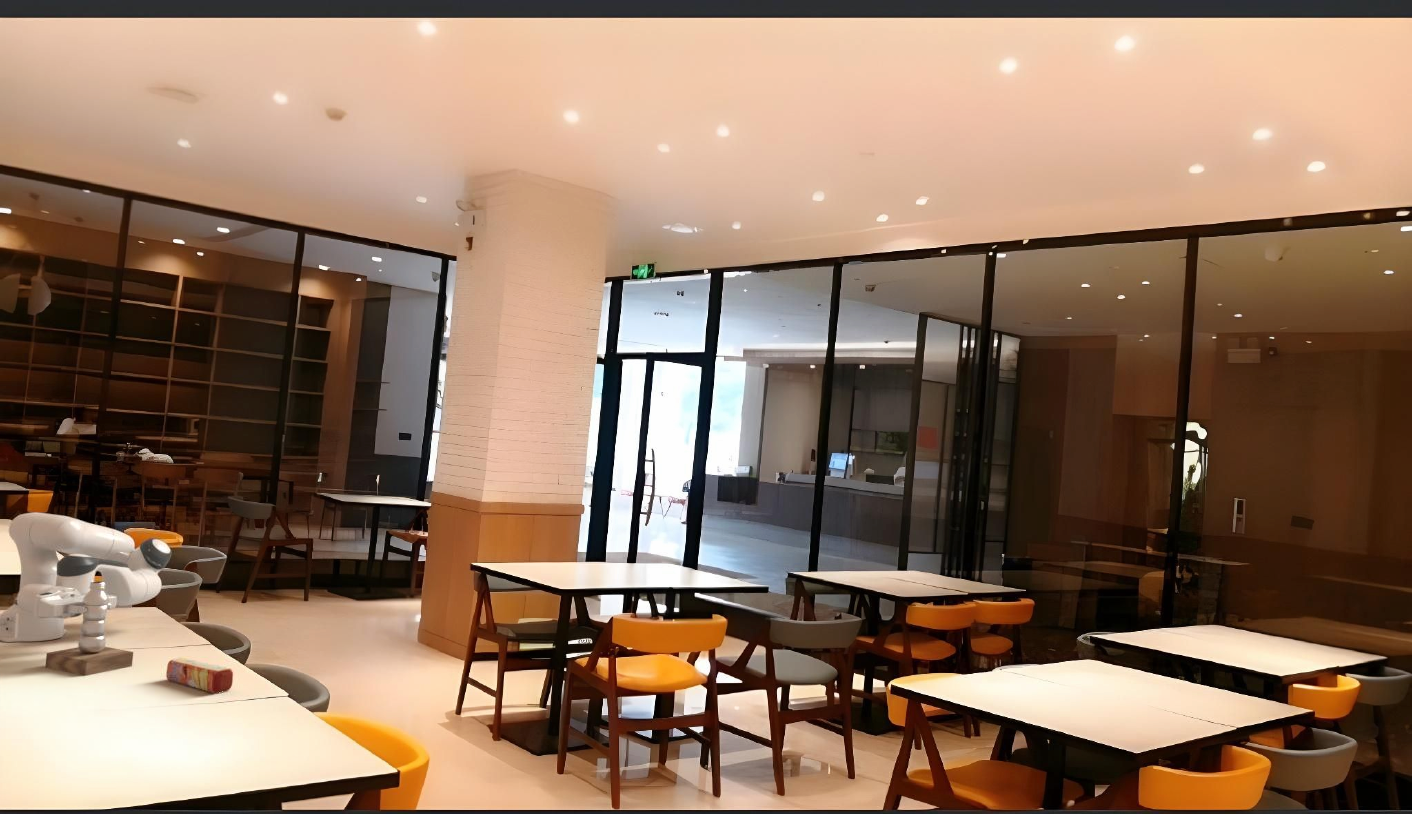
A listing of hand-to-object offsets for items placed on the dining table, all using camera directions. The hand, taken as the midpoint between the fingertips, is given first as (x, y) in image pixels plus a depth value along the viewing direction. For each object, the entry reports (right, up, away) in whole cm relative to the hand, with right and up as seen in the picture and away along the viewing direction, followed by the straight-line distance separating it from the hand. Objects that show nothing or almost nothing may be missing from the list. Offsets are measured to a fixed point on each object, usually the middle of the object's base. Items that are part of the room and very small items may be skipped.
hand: (97, 608), depth 268 cm
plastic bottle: (-2, -13, 0) cm, 13 cm away
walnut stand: (-2, -16, 0) cm, 17 cm away
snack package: (+35, -19, -12) cm, 42 cm away
